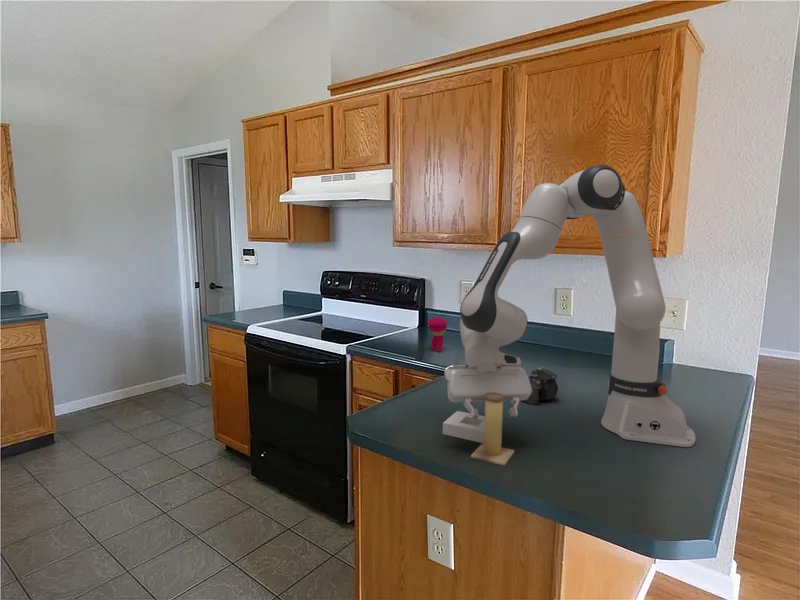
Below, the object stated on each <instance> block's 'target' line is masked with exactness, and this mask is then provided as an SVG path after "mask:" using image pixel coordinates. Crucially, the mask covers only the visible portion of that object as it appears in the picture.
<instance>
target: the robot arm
mask: <svg viewBox="0 0 800 600" xmlns="http://www.w3.org/2000/svg"><path fill="white" fill-rule="evenodd" d="M587 216H590V217H591V216H592V218H594V220H595V223H596V224H597V226H598V233H599V237H600V242H601V246H602V251H603V254H604V259H605V264H606V267H607V272H608V277H609V281H610V287H611V292H612V296H613V299H614V304H615V320H614V322H615V323H614V334H613V347H612V348H613V349H612V360H611V372H610V373H609V377H608V381H607V382H608V383H607V394H608V398H607V401H606V406H605V410H604V413H603V415H602V418H601V420H600V423H601V425H602V427H604V428H605V429H607V430H608V431H610V432H612V433H614V434H617V435H618V436H619V437H620V438H622V439H624V440H627V441H635V442H643V443H652V444H658V445H666V446H667V445H668V446H674V447H682V448H690V447H693V446H694V445H695V444H696V433H695V432H694V430H693V429H692V428H691V427H690V426H688V425H687V419H686V416H685V413H684V411H683V409H682V408H681V407H679V406H678V405H677V404H676V403H674V402H673V401H672V399H670V398H669V397H667V396H666V394H667V392H668V388H667V386H666V384H665V383H664V380H660V379H658V372H659V371H658V369H659V359H660V350H661V349H660V343H661V342H660V339H661V322H662V320H663V319H664V317H665V314H666V310H667V309H666V302H665V298H664V295H663V291H662V287H661V284H660V279H659V275H658V272H657V271H658V270H657V268H656V264H655V261H654V260H655V259H654V256H653V252H652V249H651V247H652V246H651V244H650V238H649V235H648V232H647V231H648V229H647V226H646V223H645V218H644V216H643V213H642V210H641V208H640V205H639V203H638V200H637V199H636V197H635V195H634V194H633V193H631V192H630V191H626V188H625V185H624V183H623V181H622V178H621V176H620V174H619V173H618V172H617V171H616V169H614V168H613V167H612V166H609V165H607V164H596V165H595V164H594V165H591V166H588V167H587V168H585V169H584V170H583V169H582V170H580V171H578V172H576V173H574V174H572V175H571V176H569V178H567V179H565V180H564V181H561V182H560V183H559V184H557V183H552V182H545V183H540V184H538V185H537V186H535V188H533V190H532V191H531V193H530V194H529V196H528V198H527V200H526V202H525V204H524V206H523V207H522V210H521V212H520V215H519V217H518V220H517V222H516V224H515V226H514V228H512V230H511V231H509V232H506V233H504V234H503V235H502V236H501V237H500V238H499V240H498V241H497V243H496V244H495V246H494V248H493V250H492V251H491V253H490V254H489V257H488V259H487V260H486V262H485V265H484V266H483V268H482V270H481V272H480V273H479V275H478V277H477V279H476V281H475V282H474V284H473V285H472V287H471V289H470V290H469V291H468V292H467V294H466V295H465V296H464V298H463V299H462V301H461V303H460V308H459V311H460V312H459V314H460V320H459V321H460V322H459V331H460V338H461V339H460V340H461V344H462V346H463V348H464V359H465V360H464V361H465V364H459V365H455V364H451V365H449V366H447V367H446V368H445V369H444V372H443V374H444V379H445V381H447V399H448V400H449V401H450V402H451V403H463V406H464V407H465V409H466V410H467V411H468V413H470V416H471V418H478V416H479V415H480V414H479V410H478V408H474V406H473V405H472V404H471V403H472V402H485V394H486V393H490V392H495V393H500V394H502V395H503V402H506V401H507V402H508V401H510V402H511V405H513V406H512V407H510V408H509V410H508V413H509V417H510V418H517V417H518V409H517V408H518V406H519V403H520V401H522V400H527V399H528V398H529V396H530V395H531V393H532V388H531V384H530V381H529V378H528V377H529V376H528V373H527V372H526V370H525V369H524V368H523V367H522V366H521V365H522V360H521V358H520V357H519V356H516V355H511V354H509V353H505V352H502V351H500V347H506V346H508V345H511V344H514V343H515V342H518V341H519V340H520V339H521V338H523V336H524V335H525V334H526V332H527V329H528V322H529V321H528V316H527V313H526V312H525V310H523V309H522V308H520V306H519V307H518V306H516V305H515V304H513V303H511V302H509V301H507V300H504V299H502V298H501V297H499V289H500V288H501V286H502V284H503V282H504V280H505V279H506V276H507V274H508V272H509V270H510V268H511V267H512V265H513V264H514V263H516V262H517V261H519V260H539V259H542V258H544V257H547V256H548V255H549V254H551V253H552V252H553V250H554V249H555V247H556V246H557V245H558V242H559V239H560V235H562V234H561V233H562V231H563V227H564V224H565V222H566V220H575V219H579V218H583V217H587Z"/></svg>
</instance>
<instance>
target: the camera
mask: <svg viewBox="0 0 800 600" xmlns="http://www.w3.org/2000/svg"><path fill="white" fill-rule="evenodd" d="M557 377H558V375H557V374H556V373H555V372H553V371H551V370H550V369H547V368H545V367H543V366H541V367H537V368H536V369H535V370H532V371H531V374H530V376H528V378H529V381H530V384H531V388H532V393H531V395H530V396H529V398H528V399H527V400H521V401H522V402H523V403H526V404H528V405H531V404H532V406H537V405H538V404H539V402H541V401H545V400H547V401H548V400H553V399H555V397H556V396H557V394H558V391H559V386H558V384H557V380H556V378H557Z"/></svg>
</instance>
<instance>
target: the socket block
mask: <svg viewBox="0 0 800 600" xmlns="http://www.w3.org/2000/svg"><path fill="white" fill-rule="evenodd" d="M478 415H479V416H478V418H471V416H470V412H464V411H460V410H457V411H456V412H454V413H453V414H452V415H450V416H449V417H448V418H447V419H446V420H445V421H443V422H442V435H446V436H450V437H453V438H459V439H464V440H467V441H471V442H477V443H481V444H482V443H484V432H485V415H480V414H478Z"/></svg>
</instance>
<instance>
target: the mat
mask: <svg viewBox="0 0 800 600" xmlns="http://www.w3.org/2000/svg"><path fill="white" fill-rule="evenodd" d="M514 454H515V450H514V449H511V448H506V447H504V446H501V454H500V455H496V456H492V455H488V454H486V453H485V452H484V443H481V444H480V445H478V447H477V448H476V449H475V450H474V451H473V453H471V455H470V458H471V459H475V460H479V461H482V462H483V461H484V462H487V463H491V464H496V465H500V466H503V467H504V466H505V467H506V465H507V463H508V462H509V461H510V459H511V457H512V456H513V455H514Z"/></svg>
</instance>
